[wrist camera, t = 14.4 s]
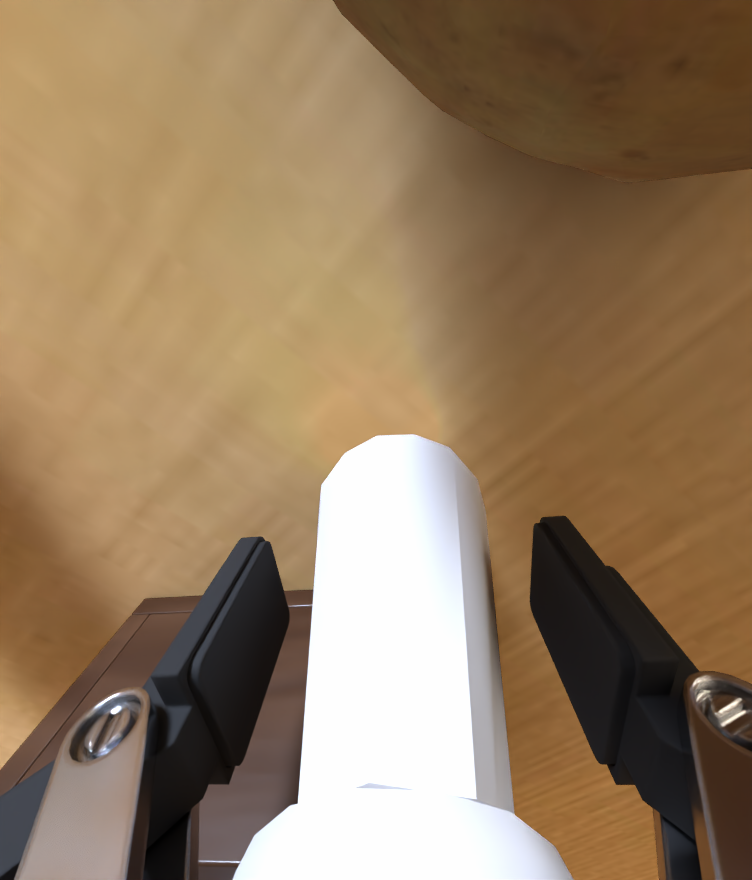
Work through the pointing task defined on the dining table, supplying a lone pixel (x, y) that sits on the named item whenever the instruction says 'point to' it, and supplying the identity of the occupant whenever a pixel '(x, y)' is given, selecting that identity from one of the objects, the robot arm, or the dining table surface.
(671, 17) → the ceramic pitcher
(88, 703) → the chest
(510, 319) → the dining table surface
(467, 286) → the dining table surface
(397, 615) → the salt shaker
